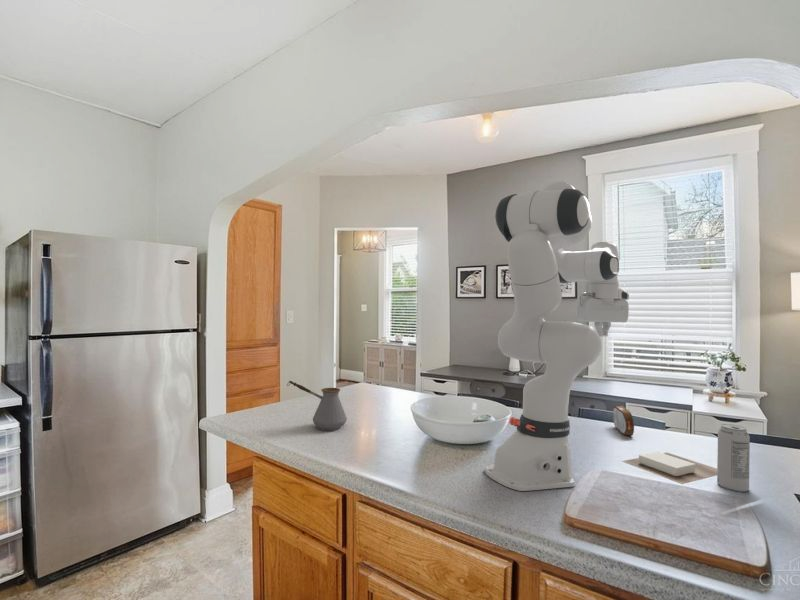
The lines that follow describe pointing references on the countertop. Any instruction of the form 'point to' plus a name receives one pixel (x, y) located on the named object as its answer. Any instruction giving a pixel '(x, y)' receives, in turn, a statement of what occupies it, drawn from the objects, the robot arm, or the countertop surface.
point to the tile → (667, 463)
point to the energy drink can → (733, 458)
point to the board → (700, 473)
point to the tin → (623, 420)
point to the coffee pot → (327, 409)
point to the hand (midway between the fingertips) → (602, 336)
